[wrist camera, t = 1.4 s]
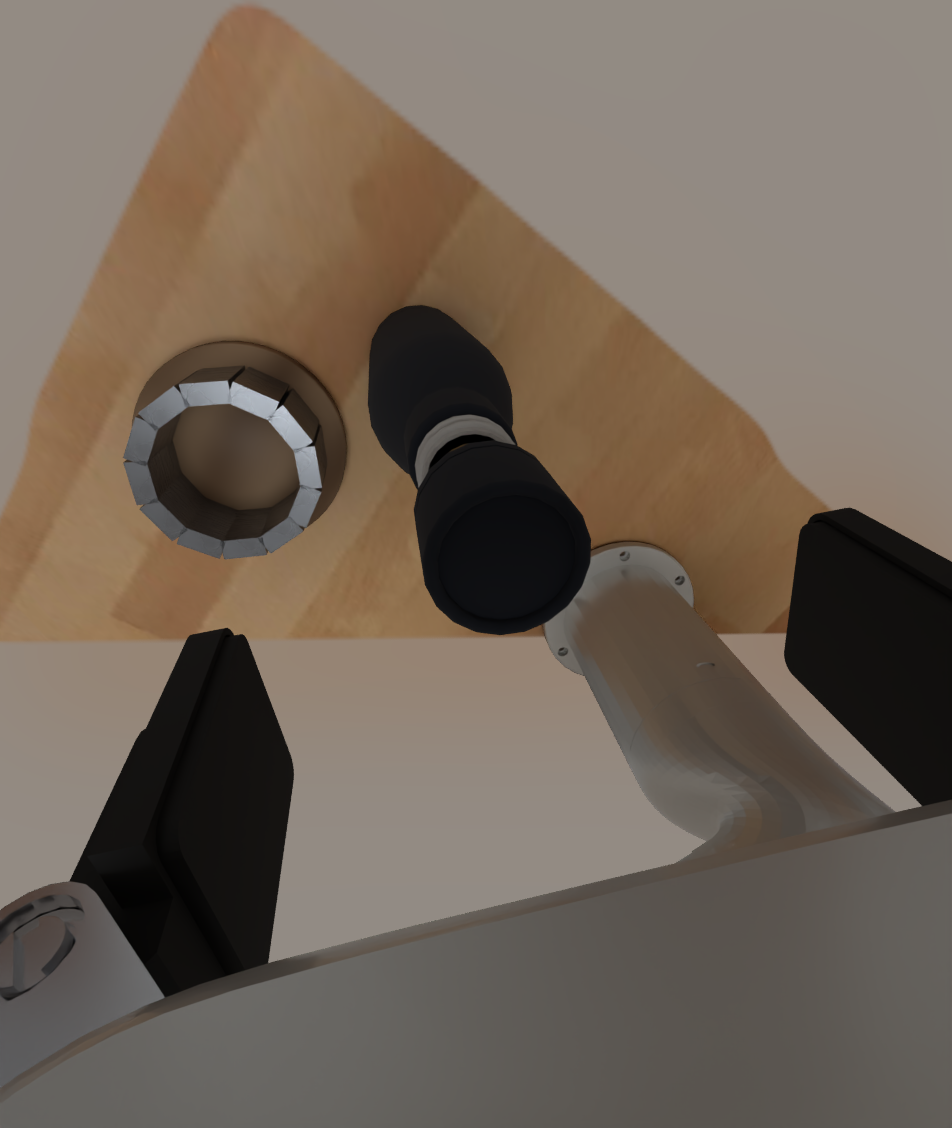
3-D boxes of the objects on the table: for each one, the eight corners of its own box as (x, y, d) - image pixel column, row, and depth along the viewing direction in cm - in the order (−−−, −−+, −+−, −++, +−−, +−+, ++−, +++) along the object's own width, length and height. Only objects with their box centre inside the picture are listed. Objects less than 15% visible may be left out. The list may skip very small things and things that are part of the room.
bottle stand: (376, 397, 41) (377, 421, 35) (306, 559, 45) (296, 604, 40) (173, 301, 37) (135, 310, 31) (116, 490, 41) (75, 529, 35)
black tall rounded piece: (472, 308, 39) (676, 427, 13) (464, 410, 42) (620, 678, 16) (369, 301, 38) (362, 412, 12) (369, 405, 41) (362, 685, 15)
